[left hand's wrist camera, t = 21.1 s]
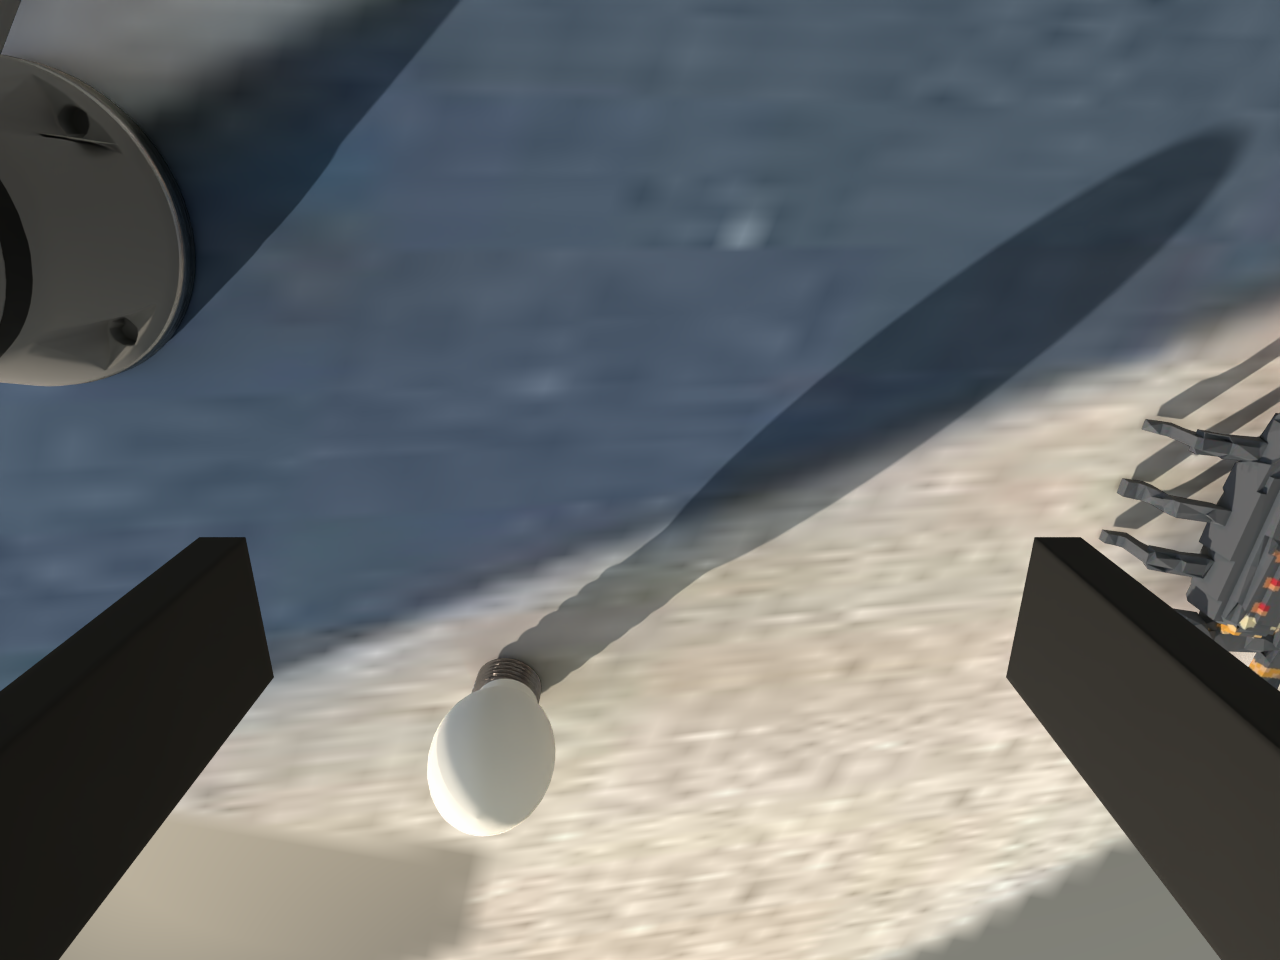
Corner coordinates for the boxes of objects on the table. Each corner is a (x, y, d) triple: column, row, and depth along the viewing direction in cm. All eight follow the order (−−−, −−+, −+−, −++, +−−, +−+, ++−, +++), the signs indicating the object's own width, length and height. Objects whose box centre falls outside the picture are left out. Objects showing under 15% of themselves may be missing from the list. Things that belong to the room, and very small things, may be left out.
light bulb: (437, 691, 47) (381, 828, 37) (497, 617, 46) (455, 740, 35) (526, 744, 49) (496, 890, 39) (587, 674, 47) (572, 808, 37)
